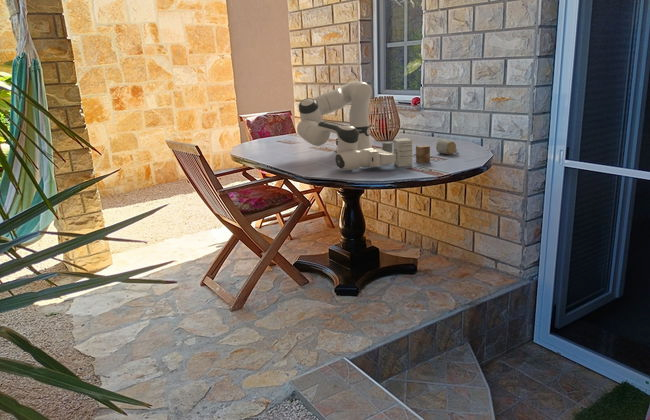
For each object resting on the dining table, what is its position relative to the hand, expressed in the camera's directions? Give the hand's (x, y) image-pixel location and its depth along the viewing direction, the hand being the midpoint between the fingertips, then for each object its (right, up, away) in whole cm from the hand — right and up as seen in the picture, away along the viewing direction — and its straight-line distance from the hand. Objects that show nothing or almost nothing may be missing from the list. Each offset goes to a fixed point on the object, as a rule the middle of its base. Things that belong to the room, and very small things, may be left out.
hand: (395, 153), depth 244 cm
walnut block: (+15, -3, +6) cm, 16 cm away
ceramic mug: (+31, +2, +23) cm, 39 cm away
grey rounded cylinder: (-2, -2, +16) cm, 16 cm away
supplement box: (+4, -5, +3) cm, 7 cm away
